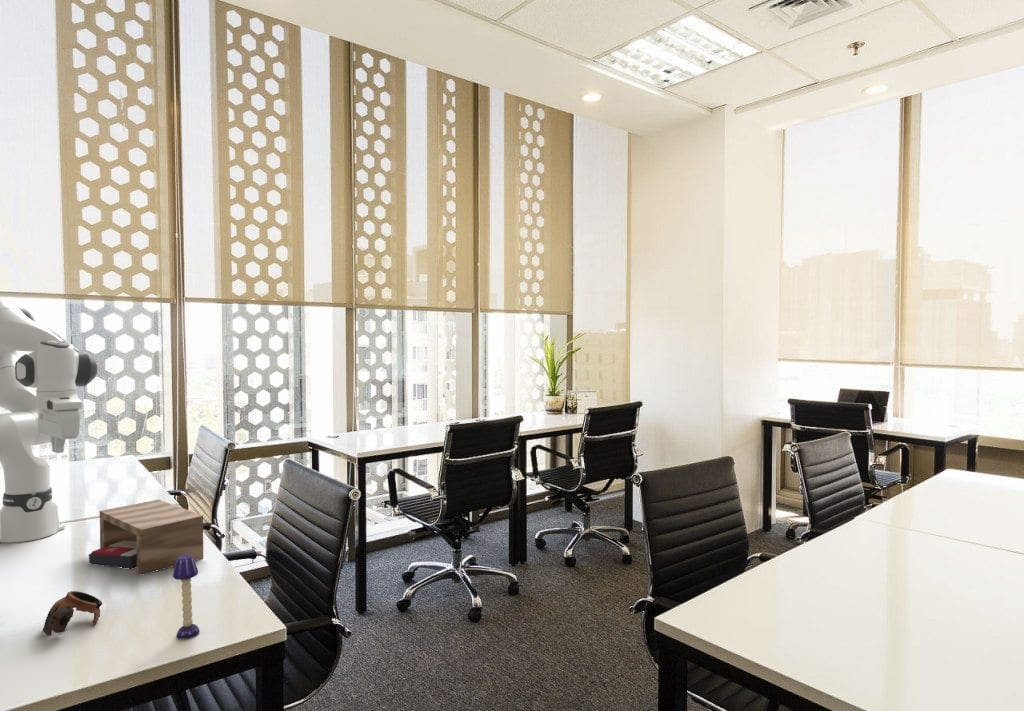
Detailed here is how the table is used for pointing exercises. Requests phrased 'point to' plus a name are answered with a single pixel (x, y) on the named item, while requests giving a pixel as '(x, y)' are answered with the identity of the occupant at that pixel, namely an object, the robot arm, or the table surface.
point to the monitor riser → (154, 532)
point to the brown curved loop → (70, 611)
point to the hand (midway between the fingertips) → (58, 452)
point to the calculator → (116, 555)
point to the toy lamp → (186, 594)
